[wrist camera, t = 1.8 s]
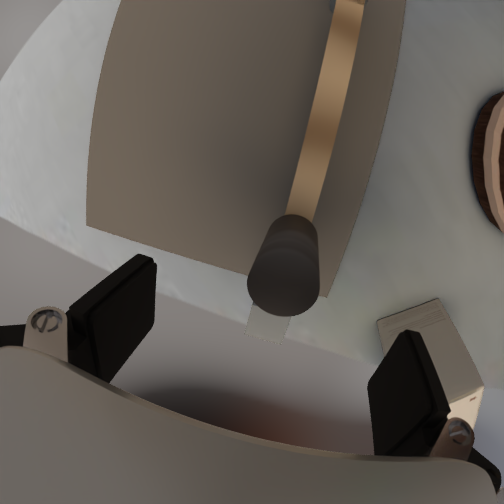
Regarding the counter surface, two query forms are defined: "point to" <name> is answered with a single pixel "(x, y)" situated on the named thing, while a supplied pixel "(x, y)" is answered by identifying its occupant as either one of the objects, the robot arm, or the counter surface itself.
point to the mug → (490, 160)
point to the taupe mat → (231, 124)
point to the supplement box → (441, 355)
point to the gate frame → (262, 321)
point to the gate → (307, 183)
